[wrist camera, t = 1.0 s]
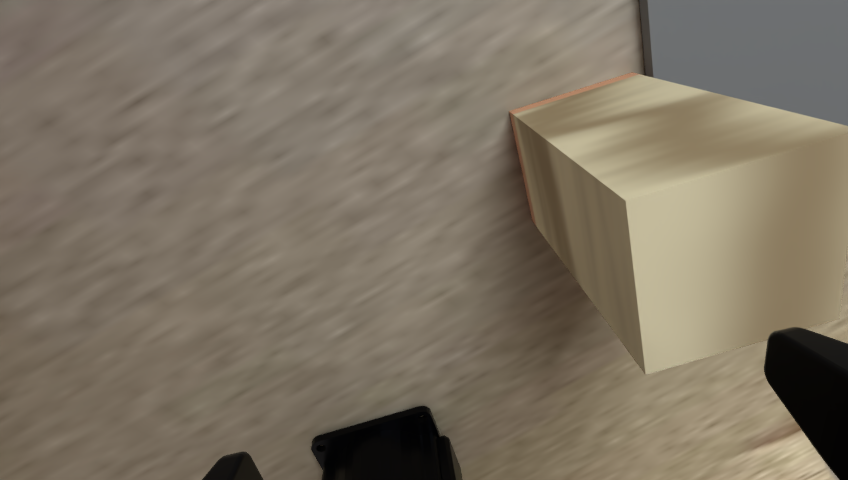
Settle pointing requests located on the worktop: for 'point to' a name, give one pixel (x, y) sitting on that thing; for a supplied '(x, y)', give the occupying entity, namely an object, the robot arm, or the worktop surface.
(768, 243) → the maple block
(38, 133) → the worktop surface
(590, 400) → the worktop surface
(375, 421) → the robot arm
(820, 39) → the rubber mat
